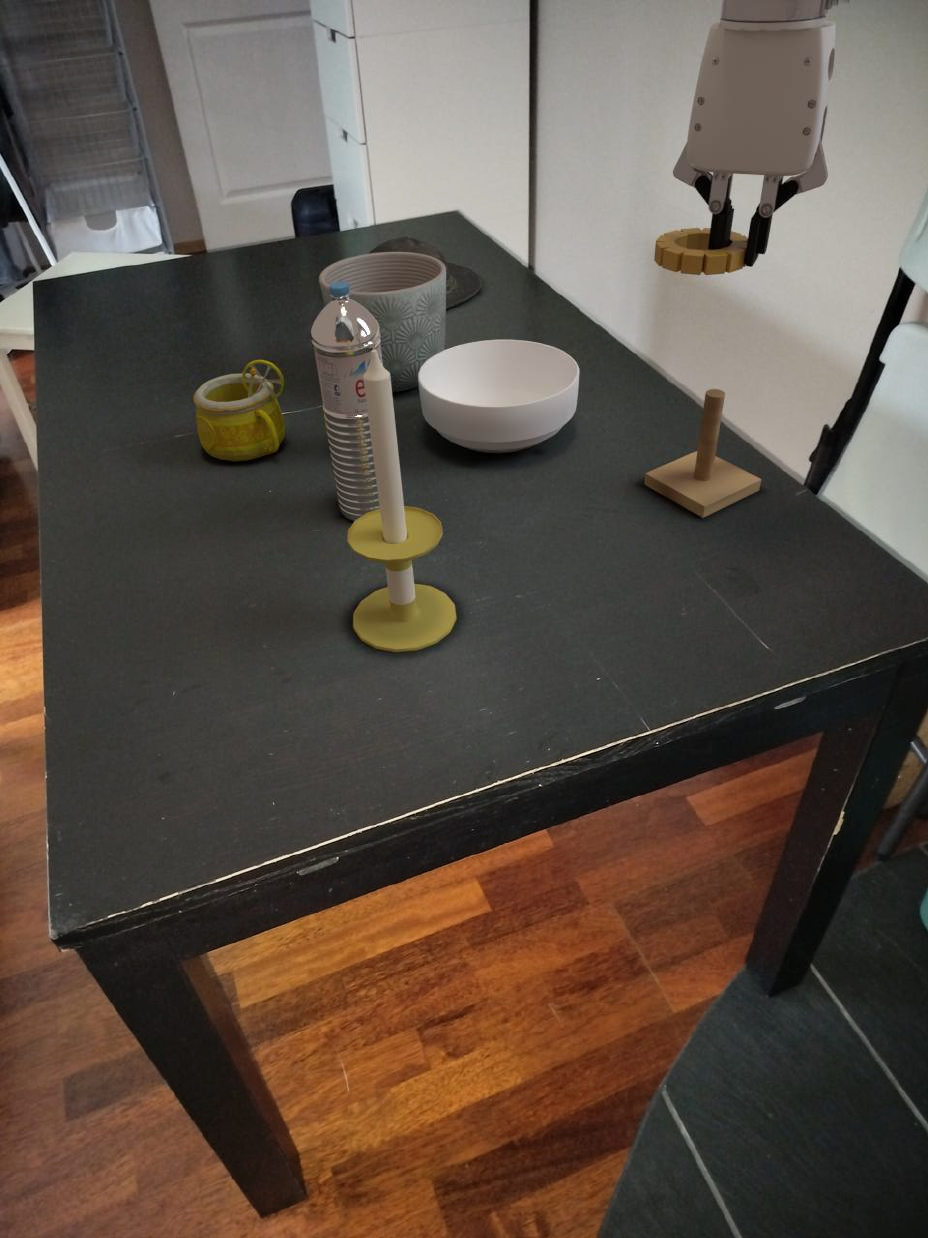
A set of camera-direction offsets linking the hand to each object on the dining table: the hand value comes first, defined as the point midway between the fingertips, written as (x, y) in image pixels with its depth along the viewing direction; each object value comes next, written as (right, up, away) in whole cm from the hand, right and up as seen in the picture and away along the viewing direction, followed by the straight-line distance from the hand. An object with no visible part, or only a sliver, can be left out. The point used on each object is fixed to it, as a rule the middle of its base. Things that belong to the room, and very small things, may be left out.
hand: (735, 258), depth 75 cm
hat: (-34, +27, +78) cm, 89 cm away
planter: (-34, +3, +49) cm, 60 cm away
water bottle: (-34, -19, +22) cm, 45 cm away
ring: (-3, 0, +1) cm, 3 cm away
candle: (-29, -32, +7) cm, 44 cm away
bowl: (-19, -8, +35) cm, 41 cm away
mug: (-51, -10, +35) cm, 62 cm away
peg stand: (+3, -17, +23) cm, 28 cm away
